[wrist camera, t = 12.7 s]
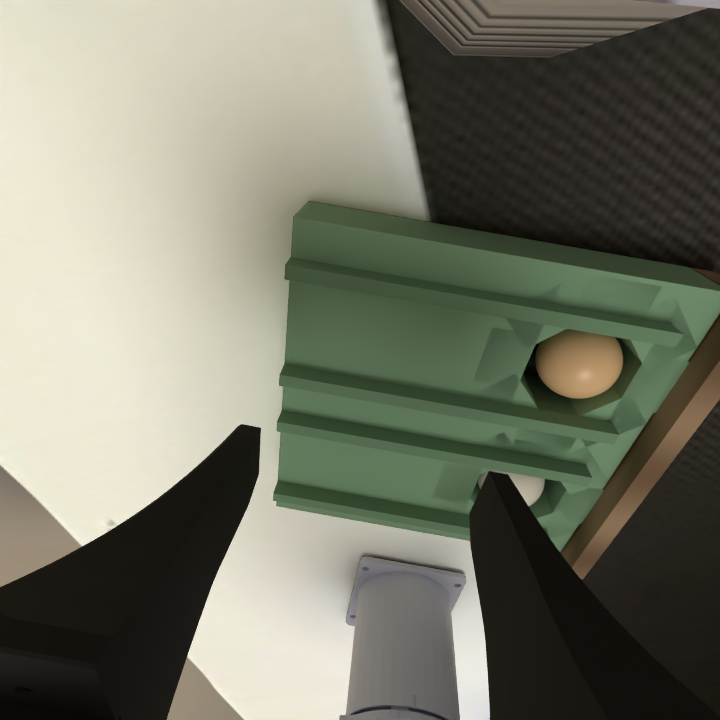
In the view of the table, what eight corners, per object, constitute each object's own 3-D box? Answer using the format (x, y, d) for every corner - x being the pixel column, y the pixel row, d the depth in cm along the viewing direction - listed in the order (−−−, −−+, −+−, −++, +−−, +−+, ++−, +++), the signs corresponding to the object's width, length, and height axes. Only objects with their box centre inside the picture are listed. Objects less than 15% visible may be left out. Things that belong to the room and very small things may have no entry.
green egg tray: (548, 515, 28) (567, 571, 24) (288, 468, 28) (272, 518, 24) (695, 268, 19) (757, 304, 15) (309, 201, 19) (287, 222, 15)
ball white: (520, 476, 26) (547, 523, 23) (463, 478, 26) (484, 525, 23) (533, 430, 25) (565, 473, 21) (473, 431, 24) (497, 475, 21)
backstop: (560, 517, 28) (582, 579, 24) (545, 514, 28) (565, 575, 24) (713, 271, 19) (785, 311, 15) (690, 267, 19) (757, 306, 15)
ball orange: (562, 368, 22) (628, 400, 20) (513, 386, 21) (578, 422, 18) (576, 304, 21) (651, 328, 18) (525, 318, 19) (598, 346, 16)
